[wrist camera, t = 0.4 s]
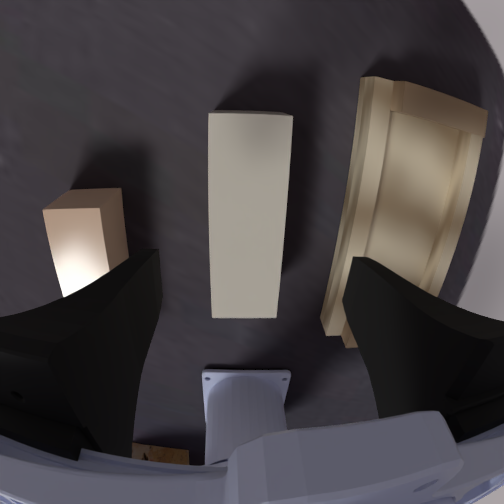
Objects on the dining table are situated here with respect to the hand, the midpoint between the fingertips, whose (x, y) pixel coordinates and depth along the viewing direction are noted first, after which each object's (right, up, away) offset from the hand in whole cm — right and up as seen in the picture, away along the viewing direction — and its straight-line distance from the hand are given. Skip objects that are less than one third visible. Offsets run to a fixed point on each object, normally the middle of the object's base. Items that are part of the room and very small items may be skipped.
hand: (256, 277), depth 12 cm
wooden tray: (+10, +3, +9) cm, 14 cm away
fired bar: (-11, 0, +10) cm, 15 cm away
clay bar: (-1, +4, +9) cm, 10 cm away
